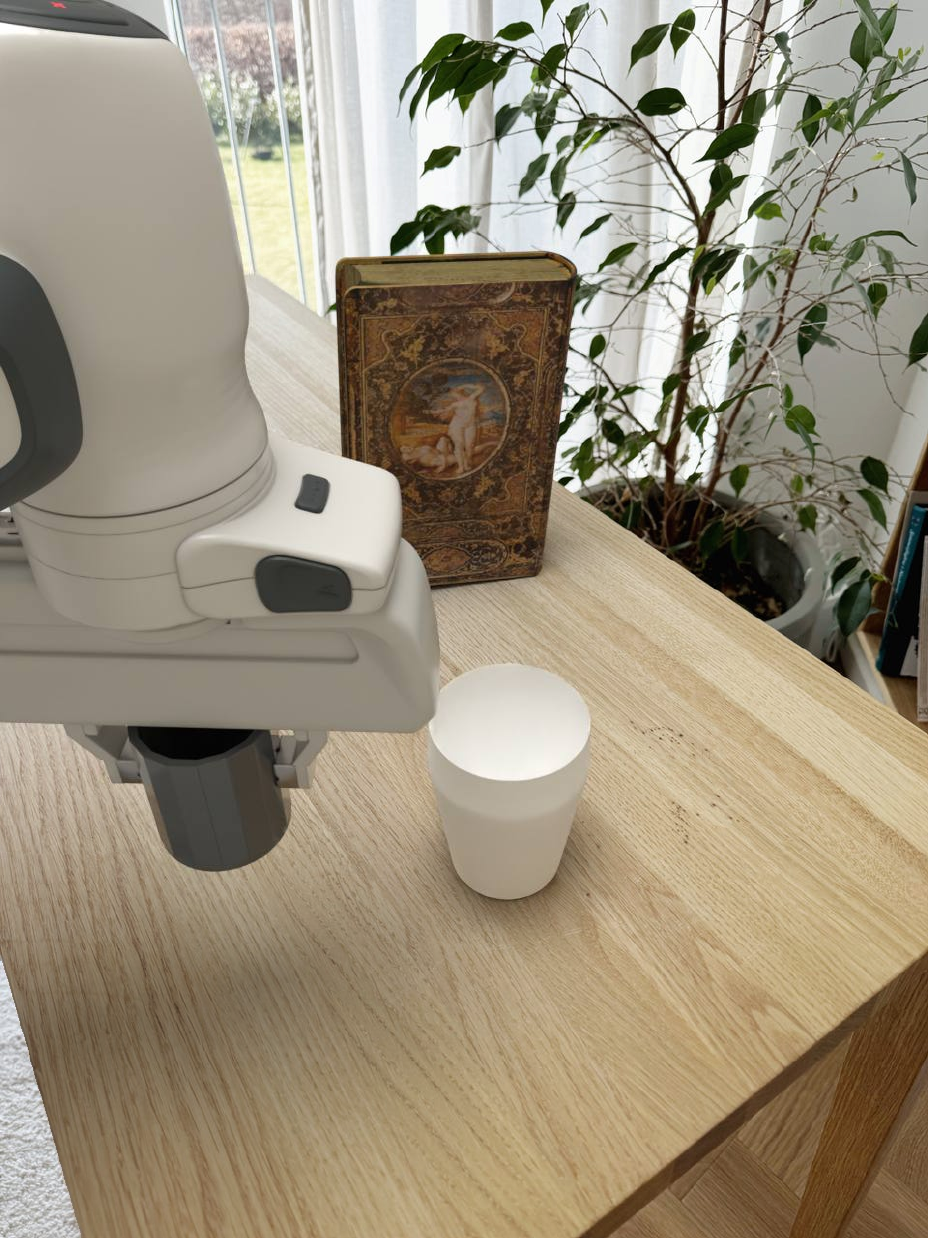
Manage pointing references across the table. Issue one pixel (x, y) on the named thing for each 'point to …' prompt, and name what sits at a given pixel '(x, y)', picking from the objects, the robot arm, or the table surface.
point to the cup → (508, 774)
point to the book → (458, 398)
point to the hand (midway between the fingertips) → (217, 775)
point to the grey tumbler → (212, 793)
